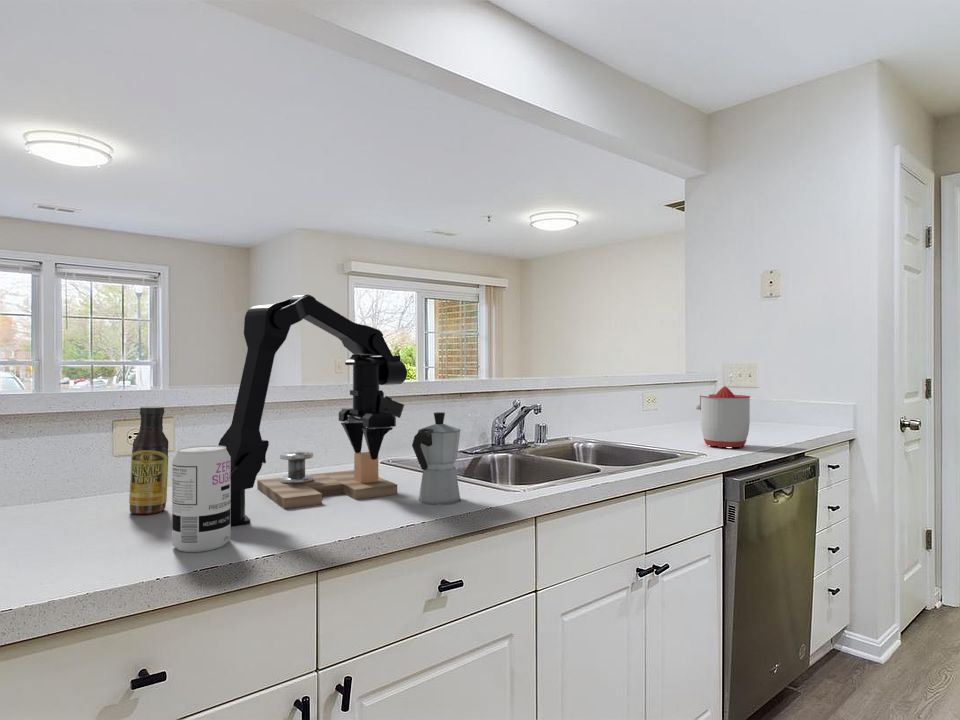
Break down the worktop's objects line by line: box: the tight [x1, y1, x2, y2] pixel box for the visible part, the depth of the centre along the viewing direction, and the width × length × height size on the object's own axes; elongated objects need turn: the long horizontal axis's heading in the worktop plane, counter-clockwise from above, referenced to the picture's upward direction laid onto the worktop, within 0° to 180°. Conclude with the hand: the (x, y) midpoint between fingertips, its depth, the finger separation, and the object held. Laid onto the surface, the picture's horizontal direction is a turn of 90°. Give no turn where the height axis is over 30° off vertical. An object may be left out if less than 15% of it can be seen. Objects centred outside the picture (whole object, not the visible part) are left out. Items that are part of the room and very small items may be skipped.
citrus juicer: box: [696, 386, 751, 448], centre depth 204 cm, size 16×17×20 cm
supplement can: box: [171, 444, 232, 553], centre depth 95 cm, size 8×8×15 cm
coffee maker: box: [411, 411, 461, 506], centre depth 125 cm, size 15×9×18 cm, turn 149°
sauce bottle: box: [128, 405, 169, 515], centre depth 116 cm, size 6×6×20 cm
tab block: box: [353, 451, 379, 483], centre depth 135 cm, size 4×4×6 cm
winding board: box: [256, 469, 398, 509], centre depth 133 cm, size 22×24×2 cm
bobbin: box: [279, 450, 314, 484], centre depth 135 cm, size 7×7×6 cm
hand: (365, 456), depth 135 cm, fingers open, 9 cm apart
